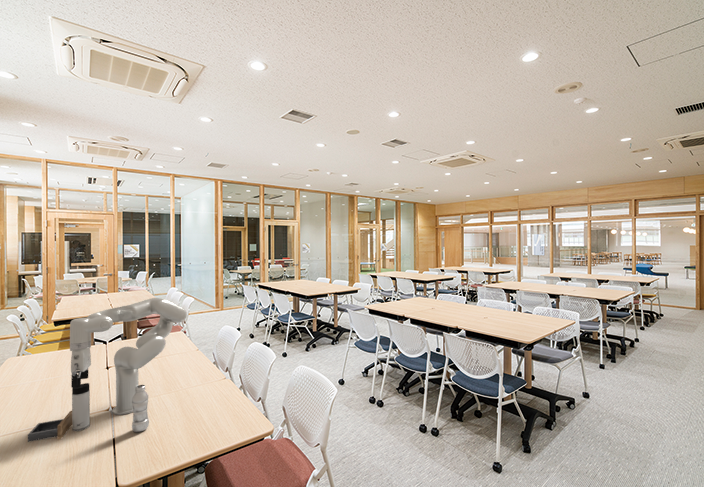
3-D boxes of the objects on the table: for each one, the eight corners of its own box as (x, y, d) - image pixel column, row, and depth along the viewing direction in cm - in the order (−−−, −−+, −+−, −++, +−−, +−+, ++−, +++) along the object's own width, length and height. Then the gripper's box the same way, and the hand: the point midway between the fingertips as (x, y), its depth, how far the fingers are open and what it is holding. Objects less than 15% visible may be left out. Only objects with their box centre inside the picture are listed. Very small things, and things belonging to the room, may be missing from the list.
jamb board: (73, 422, 155) (73, 410, 155) (61, 439, 142) (61, 425, 142) (70, 423, 155) (70, 410, 155) (57, 439, 142) (57, 426, 142)
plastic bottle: (152, 427, 151) (152, 384, 151) (138, 435, 145) (138, 390, 145) (142, 424, 153) (142, 382, 153) (128, 432, 147) (128, 388, 147)
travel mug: (80, 432, 147) (80, 388, 147) (68, 430, 149) (68, 386, 149) (93, 424, 154) (93, 382, 153) (82, 423, 155) (82, 381, 155)
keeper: (67, 425, 153) (67, 418, 153) (59, 436, 145) (58, 429, 145) (38, 430, 149) (38, 423, 149) (27, 442, 140) (27, 434, 140)
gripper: (83, 350, 144) (83, 388, 144) (96, 339, 160) (96, 374, 160) (62, 352, 141) (61, 391, 141) (77, 341, 157) (77, 377, 157)
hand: (80, 382), depth 151 cm, fingers open, 9 cm apart
